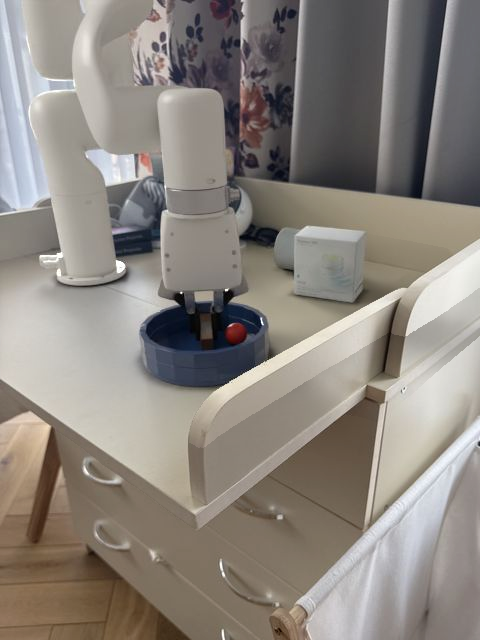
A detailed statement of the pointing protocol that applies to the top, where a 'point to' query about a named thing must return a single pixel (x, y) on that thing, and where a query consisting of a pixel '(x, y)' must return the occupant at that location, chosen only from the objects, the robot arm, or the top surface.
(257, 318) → the bowl
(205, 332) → the grey and brown bar
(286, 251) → the ceramic mug
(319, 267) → the cosmetics box
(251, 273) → the top surface
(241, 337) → the red bead
